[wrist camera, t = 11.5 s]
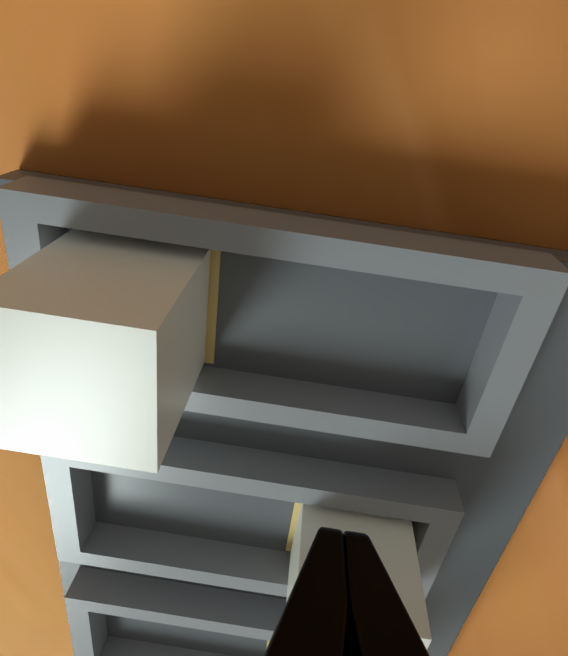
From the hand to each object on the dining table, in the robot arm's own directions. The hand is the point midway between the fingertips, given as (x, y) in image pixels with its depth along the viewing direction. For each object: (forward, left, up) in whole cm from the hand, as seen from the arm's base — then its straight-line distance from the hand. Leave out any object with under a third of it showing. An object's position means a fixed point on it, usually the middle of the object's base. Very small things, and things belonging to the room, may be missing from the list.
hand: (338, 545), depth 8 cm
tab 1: (+6, 0, -8) cm, 10 cm away
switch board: (+1, +9, -9) cm, 13 cm away
